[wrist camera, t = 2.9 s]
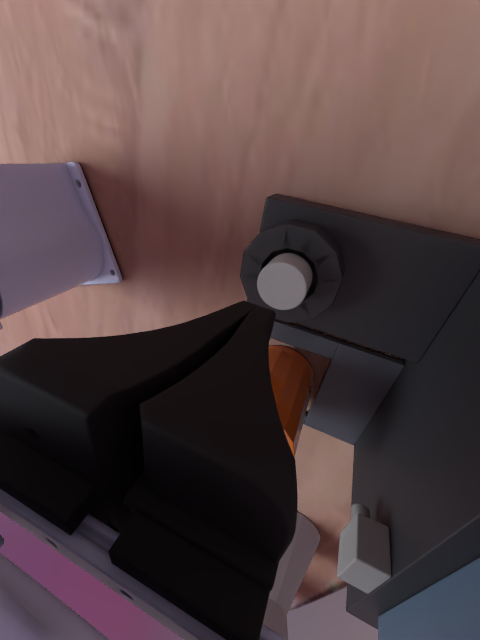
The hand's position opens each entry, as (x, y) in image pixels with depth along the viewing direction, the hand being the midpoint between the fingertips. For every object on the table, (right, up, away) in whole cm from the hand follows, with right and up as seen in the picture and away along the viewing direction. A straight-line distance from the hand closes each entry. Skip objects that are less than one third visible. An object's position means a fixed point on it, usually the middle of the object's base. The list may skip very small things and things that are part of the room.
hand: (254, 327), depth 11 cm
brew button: (+2, +3, +5) cm, 6 cm away
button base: (+6, +3, +7) cm, 10 cm away
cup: (+3, -4, +12) cm, 13 cm away
